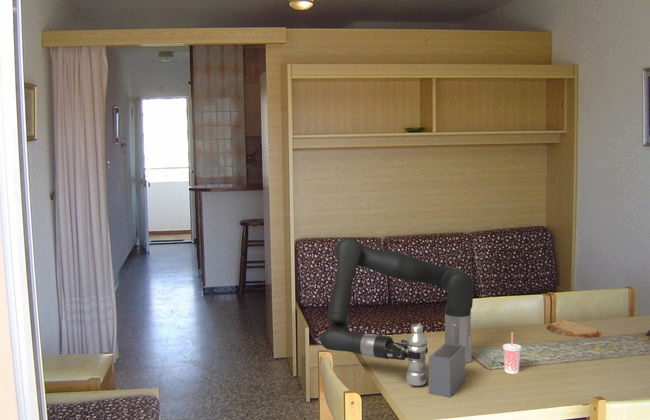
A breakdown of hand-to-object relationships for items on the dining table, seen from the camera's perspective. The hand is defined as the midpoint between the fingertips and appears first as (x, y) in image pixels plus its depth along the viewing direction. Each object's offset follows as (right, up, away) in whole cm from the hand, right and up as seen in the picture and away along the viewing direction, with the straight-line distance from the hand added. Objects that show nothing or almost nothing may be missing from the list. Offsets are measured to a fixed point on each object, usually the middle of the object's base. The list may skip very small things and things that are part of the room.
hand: (423, 353), depth 217 cm
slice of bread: (+71, -5, +60) cm, 93 cm away
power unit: (+8, -11, 0) cm, 14 cm away
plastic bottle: (-2, -11, +2) cm, 11 cm away
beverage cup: (+33, -10, +14) cm, 37 cm away
